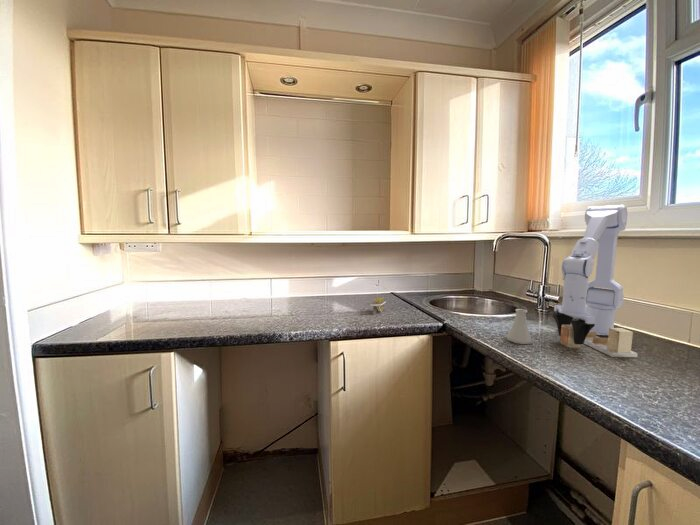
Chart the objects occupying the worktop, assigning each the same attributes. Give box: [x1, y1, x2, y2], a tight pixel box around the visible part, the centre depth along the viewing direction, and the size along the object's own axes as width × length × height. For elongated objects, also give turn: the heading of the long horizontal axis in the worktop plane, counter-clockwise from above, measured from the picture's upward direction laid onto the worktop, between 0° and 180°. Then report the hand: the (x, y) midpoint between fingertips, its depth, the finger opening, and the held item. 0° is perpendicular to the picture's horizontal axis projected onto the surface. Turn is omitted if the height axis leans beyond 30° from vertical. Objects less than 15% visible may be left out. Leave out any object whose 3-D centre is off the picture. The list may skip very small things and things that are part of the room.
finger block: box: [559, 324, 582, 349], centre depth 93 cm, size 4×4×6 cm
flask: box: [506, 308, 533, 345], centre depth 96 cm, size 7×7×10 cm
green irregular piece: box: [370, 296, 386, 316], centre depth 127 cm, size 12×18×7 cm, turn 155°
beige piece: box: [583, 327, 639, 358], centre depth 92 cm, size 15×7×7 cm, turn 179°
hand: (570, 340), depth 93 cm, fingers open, 6 cm apart
